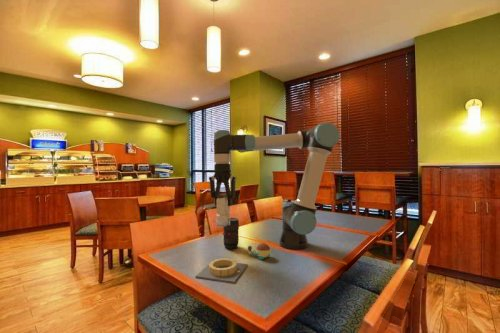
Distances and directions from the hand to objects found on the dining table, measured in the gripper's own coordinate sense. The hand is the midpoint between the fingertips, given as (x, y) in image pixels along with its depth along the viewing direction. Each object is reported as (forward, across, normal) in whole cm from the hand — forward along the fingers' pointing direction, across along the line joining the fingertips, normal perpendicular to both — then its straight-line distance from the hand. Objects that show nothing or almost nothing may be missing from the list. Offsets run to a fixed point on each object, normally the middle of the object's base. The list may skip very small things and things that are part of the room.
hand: (223, 212), depth 111 cm
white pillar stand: (+6, 0, 0) cm, 6 cm away
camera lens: (+21, +1, -13) cm, 25 cm away
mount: (+21, -6, +14) cm, 26 cm away
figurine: (+21, -16, -5) cm, 27 cm away
